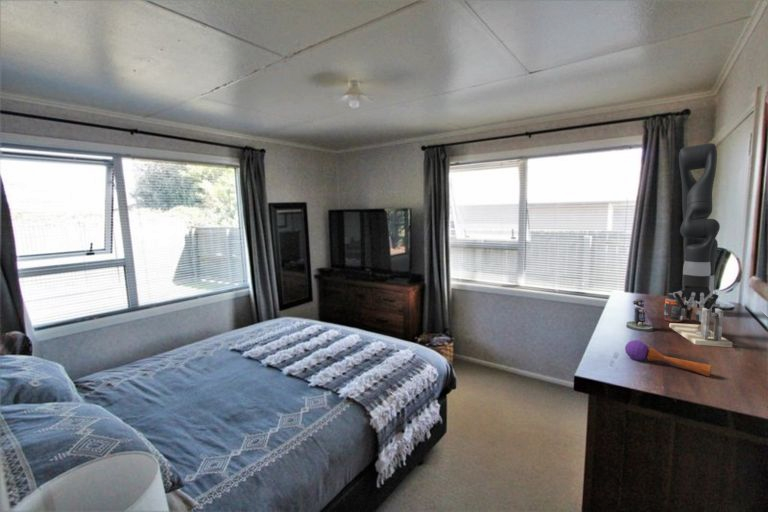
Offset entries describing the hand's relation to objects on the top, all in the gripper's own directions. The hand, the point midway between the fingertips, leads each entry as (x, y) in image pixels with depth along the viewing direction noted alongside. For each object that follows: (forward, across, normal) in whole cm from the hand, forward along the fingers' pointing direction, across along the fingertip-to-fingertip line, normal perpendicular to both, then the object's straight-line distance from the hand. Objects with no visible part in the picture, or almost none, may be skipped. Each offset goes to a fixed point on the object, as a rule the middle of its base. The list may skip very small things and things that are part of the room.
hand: (693, 319), depth 132 cm
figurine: (+5, +16, -2) cm, 17 cm away
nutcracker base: (+5, 0, +4) cm, 7 cm away
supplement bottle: (+5, 0, -16) cm, 17 cm away
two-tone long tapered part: (+6, +22, +36) cm, 42 cm away
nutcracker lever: (-1, 0, +5) cm, 5 cm away
